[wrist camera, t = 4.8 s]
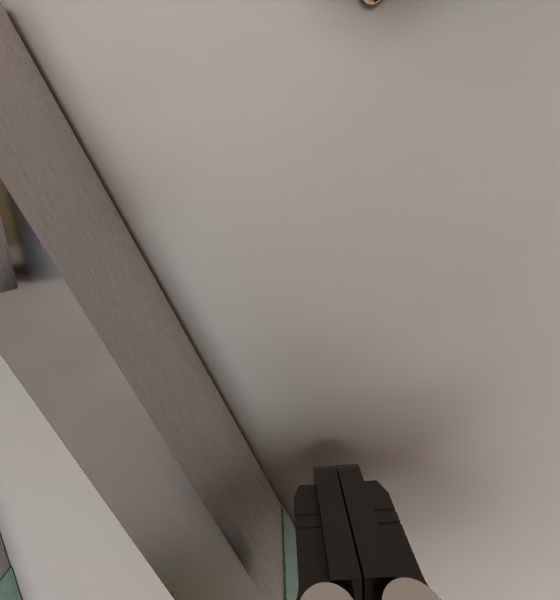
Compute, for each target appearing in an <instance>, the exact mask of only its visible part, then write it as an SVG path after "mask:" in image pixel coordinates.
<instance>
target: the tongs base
mask: <svg viewBox="0 0 560 600" xmlns="http://www.w3.org/2000/svg"><path fill="white" fill-rule="evenodd" d="M14 289H18V285H17V281H16V277H15V273H14V269H13V265H12V261H11V257H10V253H9V249H8V244H7V240H6V236H5V232H4V228H3V224H2V220H1V216H0V293H2V292H6V291H10V290H14ZM0 600H21V596H20V593H19V590H18V587H17V583H16V580H15V577H14V574H13V571H12V567H10V565H9V562H8V559H7V555H6V552H5V549H4V546H3V543H2V539H1V536H0Z"/></svg>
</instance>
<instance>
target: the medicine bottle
mask: <svg viewBox="0 0 560 600" xmlns="http://www.w3.org/2000/svg"><path fill="white" fill-rule="evenodd" d="M363 1H364V2H365V3H366V4H370V5H373V4H376V3H378V2H379V1H380V0H363Z"/></svg>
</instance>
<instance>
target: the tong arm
mask: <svg viewBox="0 0 560 600" xmlns="http://www.w3.org/2000/svg"><path fill="white" fill-rule="evenodd" d="M0 216H1V220H2V224H3V228H4V232H5V236H6V240H7V244H8V249H9V253H10V257H11V261H12V265H13V269H14V273H15V277H16V281H17V285H18V289H14V290H10V291H6V292H2V293H0V354H1V356H2V357H3V358H4V360H5V361H6V363H7V364H8V365H9V367H10V368H11V370H12V371H13V373H14V374H15V375H16V377H17V378H18V380H19V381H20V382H21V384H22V385H23V387H24V388H25V389H26V391H27V392H28V394H29V395H30V396H31V398H32V399H33V401H34V402H35V404H36V405H37V406H38V408H39V409H40V411H41V412H42V413H43V415H44V416H45V418H46V419H47V420H48V422H49V423H50V425H51V426H52V428H53V429H54V430H55V432H56V433H57V435H58V436H59V437H60V439H61V440H62V442H63V443H64V444H65V446H66V447H67V449H68V450H69V451H70V453H71V454H72V456H73V457H74V459H75V460H76V461H77V463H78V464H79V466H80V467H81V468H82V470H83V471H84V473H85V474H86V475H87V477H88V478H89V480H90V481H91V482H92V484H93V485H94V487H95V488H96V490H97V491H98V492H99V494H100V495H101V497H102V498H103V499H104V501H105V502H106V504H107V505H108V506H109V508H110V509H111V511H112V512H113V514H114V515H115V516H116V518H117V519H118V521H119V522H120V523H121V525H122V526H123V528H124V529H125V530H126V532H127V533H128V535H129V536H130V537H131V539H132V540H133V542H134V543H135V545H136V546H137V547H138V549H139V550H140V552H141V553H142V554H143V556H144V557H145V559H146V560H147V561H148V563H149V564H150V566H151V567H152V568H153V570H154V571H155V573H156V574H157V576H158V577H159V578H160V580H161V581H162V583H163V584H164V585H165V587H166V588H167V590H168V591H169V592H170V594H171V595H172V597H173V598H174V600H296V598H297V595H298V586H299V582H298V565H297V548H296V530H295V526H294V524H293V522H292V521H291V519H290V517H289V515H288V513H287V512H286V510H285V508H284V506H282V505H281V503H280V502H279V500H278V498H277V496H276V494H275V493H274V491H273V489H272V487H271V486H270V484H269V482H268V480H267V478H266V477H265V475H264V473H263V471H262V469H261V468H260V466H259V464H258V462H257V460H256V459H255V457H254V455H253V453H252V452H251V450H250V448H249V446H248V444H247V443H246V441H245V439H244V437H243V435H242V434H241V432H240V430H239V428H238V426H237V425H236V423H235V421H234V419H233V418H232V416H231V414H230V412H229V410H228V409H227V407H226V405H225V403H224V401H223V400H222V398H221V396H220V394H219V392H218V391H217V389H216V387H215V385H214V384H213V382H212V380H211V378H210V376H209V375H208V373H207V371H206V369H205V367H204V366H203V364H202V362H201V360H200V358H199V357H198V355H197V353H196V351H195V349H194V348H193V346H192V344H191V342H190V341H189V339H188V337H187V335H186V333H185V332H184V330H183V328H182V326H181V324H180V323H179V321H178V319H177V317H176V315H175V314H174V312H173V310H172V308H171V307H170V305H169V303H168V301H167V299H166V298H165V296H164V294H163V292H162V290H161V289H160V287H159V285H158V283H157V281H156V280H155V278H154V276H153V274H152V273H151V271H150V269H149V267H148V265H147V264H146V262H145V260H144V258H143V256H142V255H141V253H140V251H139V249H138V247H137V246H136V244H135V242H134V240H133V239H132V237H131V235H130V233H129V231H128V230H127V228H126V226H125V224H124V222H123V221H122V219H121V217H120V215H119V213H118V212H117V210H116V208H115V206H114V204H113V203H112V201H111V199H110V197H109V196H108V194H107V192H106V190H105V188H104V187H103V185H102V183H101V181H100V179H99V178H98V176H97V174H96V172H95V170H94V169H93V167H92V165H91V163H90V162H89V160H88V158H87V156H86V154H85V153H84V151H83V149H82V147H81V145H80V144H79V142H78V140H77V138H76V136H75V135H74V133H73V131H72V129H71V128H70V126H69V124H68V122H67V120H66V119H65V117H64V115H63V113H62V111H61V110H60V108H59V106H58V104H57V102H56V101H55V99H54V97H53V95H52V93H51V92H50V90H49V88H48V86H47V85H46V83H45V81H44V79H43V77H42V76H41V74H40V72H39V70H38V68H37V67H36V65H35V63H34V61H33V59H32V58H31V56H30V54H29V52H28V51H27V49H26V47H25V45H24V43H23V42H22V40H21V38H20V36H19V34H18V33H17V31H16V29H15V27H14V25H13V24H12V22H11V20H10V18H9V17H8V15H7V13H6V11H5V9H4V8H3V6H2V4H1V2H0Z"/></svg>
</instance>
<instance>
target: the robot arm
mask: <svg viewBox="0 0 560 600" xmlns="http://www.w3.org/2000/svg"><path fill="white" fill-rule="evenodd" d="M313 475H314V485H300V486H299V487H298V490H297V492H296V495H295V497H294V513H295V530H296V548H297V565H298V582H299V586H298V595H297V598H296V600H441V599H440V598H439V597H438V596H437V595H436V594H435V593H434V592H433V591H432V590H431V589H430V588H429V586H428V585H427V583H426V582H425V580H424V578H423V576H422V573H421V571H420V569H419V566H418V564H417V561H416V559H415V556H414V554H413V552H412V549H411V547H410V544H409V542H408V539H407V537H406V535H405V532H404V530H403V527H402V525H401V524H400V520H399V518H398V515H397V513H396V511H395V508H394V505H393V503H392V501H391V498H390V496H389V493H388V492H387V491H386V490H385V489H384V488H383V487H382V486H381V485H380V484H379V483H378V482H377V481H364V480H363V477H362V474H361V471H360V468H359V465H358V464H351V465H336V468H335V466H321V467H313Z"/></svg>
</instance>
